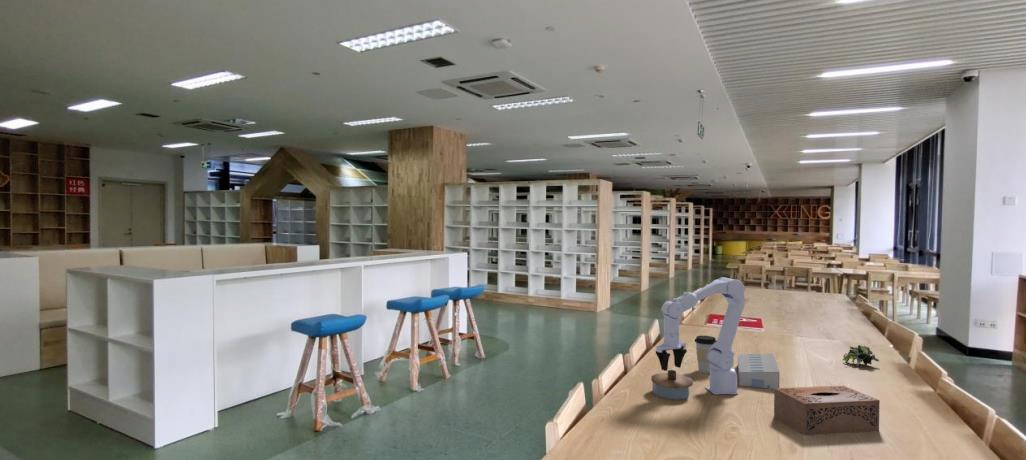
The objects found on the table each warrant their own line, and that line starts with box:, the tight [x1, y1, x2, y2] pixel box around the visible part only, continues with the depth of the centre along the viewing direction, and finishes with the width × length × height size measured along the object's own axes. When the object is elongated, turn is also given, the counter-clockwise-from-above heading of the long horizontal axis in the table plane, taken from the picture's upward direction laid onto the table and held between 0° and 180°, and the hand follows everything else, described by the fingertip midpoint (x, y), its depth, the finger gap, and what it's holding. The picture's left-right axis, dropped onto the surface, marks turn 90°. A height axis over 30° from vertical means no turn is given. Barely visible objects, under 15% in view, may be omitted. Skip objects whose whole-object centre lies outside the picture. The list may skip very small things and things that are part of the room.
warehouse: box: [737, 353, 780, 390], centre depth 213 cm, size 30×14×8 cm, turn 156°
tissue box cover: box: [773, 385, 881, 436], centre depth 163 cm, size 26×14×10 cm, turn 98°
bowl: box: [652, 382, 690, 401], centre depth 191 cm, size 13×13×5 cm
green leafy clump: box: [842, 344, 880, 368], centre depth 231 cm, size 11×11×12 cm
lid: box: [651, 369, 694, 388], centre depth 190 cm, size 15×15×4 cm
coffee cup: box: [694, 335, 718, 374], centre depth 220 cm, size 9×9×15 cm
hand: (671, 368), depth 191 cm, fingers open, 7 cm apart
